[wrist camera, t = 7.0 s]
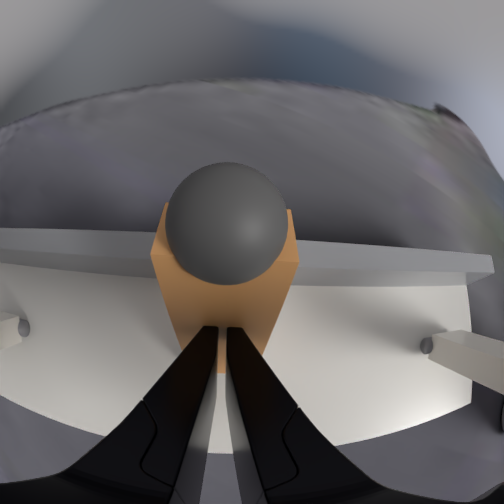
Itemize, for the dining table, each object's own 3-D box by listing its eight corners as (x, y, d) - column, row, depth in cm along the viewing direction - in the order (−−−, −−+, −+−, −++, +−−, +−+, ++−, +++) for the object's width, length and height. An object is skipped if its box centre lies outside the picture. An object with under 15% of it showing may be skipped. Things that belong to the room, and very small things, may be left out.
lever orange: (256, 387, 11) (337, 229, 4) (186, 384, 11) (115, 217, 4) (255, 340, 13) (309, 148, 5) (190, 337, 13) (155, 139, 5)
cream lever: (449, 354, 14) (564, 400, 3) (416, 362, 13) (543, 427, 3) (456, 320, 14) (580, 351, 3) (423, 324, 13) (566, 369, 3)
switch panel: (449, 401, 14) (500, 403, 9) (0, 383, 11) (-49, 381, 6) (443, 279, 18) (491, 255, 13) (13, 257, 15) (-30, 227, 10)
